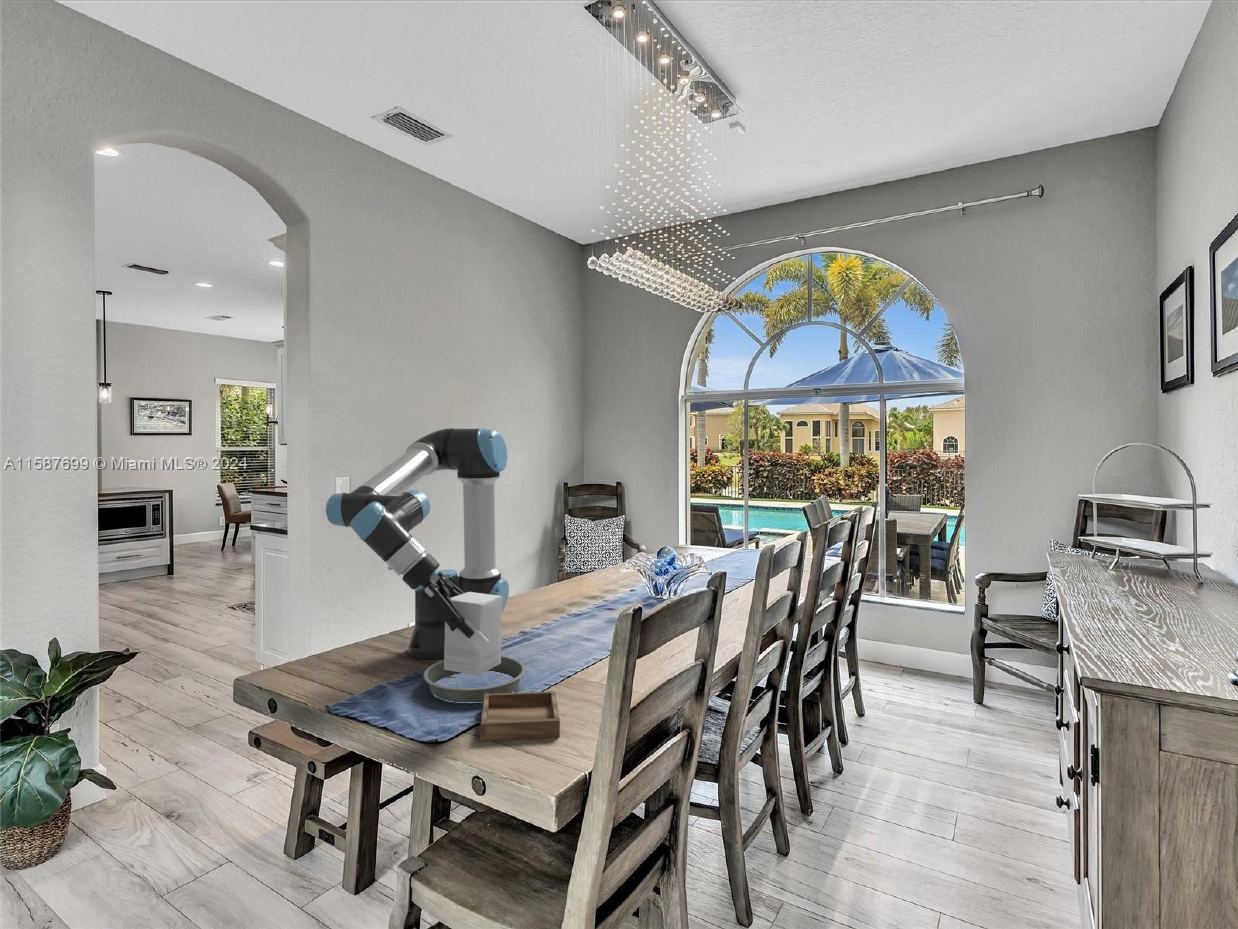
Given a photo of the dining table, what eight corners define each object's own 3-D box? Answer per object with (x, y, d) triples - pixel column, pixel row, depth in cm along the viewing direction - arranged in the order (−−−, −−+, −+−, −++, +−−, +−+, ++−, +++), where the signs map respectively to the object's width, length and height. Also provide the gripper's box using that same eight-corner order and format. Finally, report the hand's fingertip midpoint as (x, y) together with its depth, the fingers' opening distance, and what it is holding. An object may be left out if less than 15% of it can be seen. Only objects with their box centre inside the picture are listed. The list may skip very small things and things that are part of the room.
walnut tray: (484, 709, 144) (484, 694, 144) (554, 706, 147) (555, 691, 147) (480, 741, 129) (480, 724, 128) (559, 737, 131) (559, 720, 131)
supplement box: (502, 663, 138) (504, 595, 138) (478, 677, 130) (481, 604, 129) (467, 657, 141) (469, 590, 141) (442, 669, 133) (444, 598, 133)
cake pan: (403, 688, 156) (403, 670, 156) (484, 664, 175) (484, 648, 175) (462, 717, 140) (463, 697, 140) (545, 687, 159) (545, 669, 159)
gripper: (411, 566, 145) (478, 633, 147) (387, 589, 121) (466, 668, 124) (436, 543, 146) (502, 610, 148) (416, 562, 122) (495, 641, 124)
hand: (486, 637), depth 136 cm, fingers closed on supplement box, 12 cm apart
